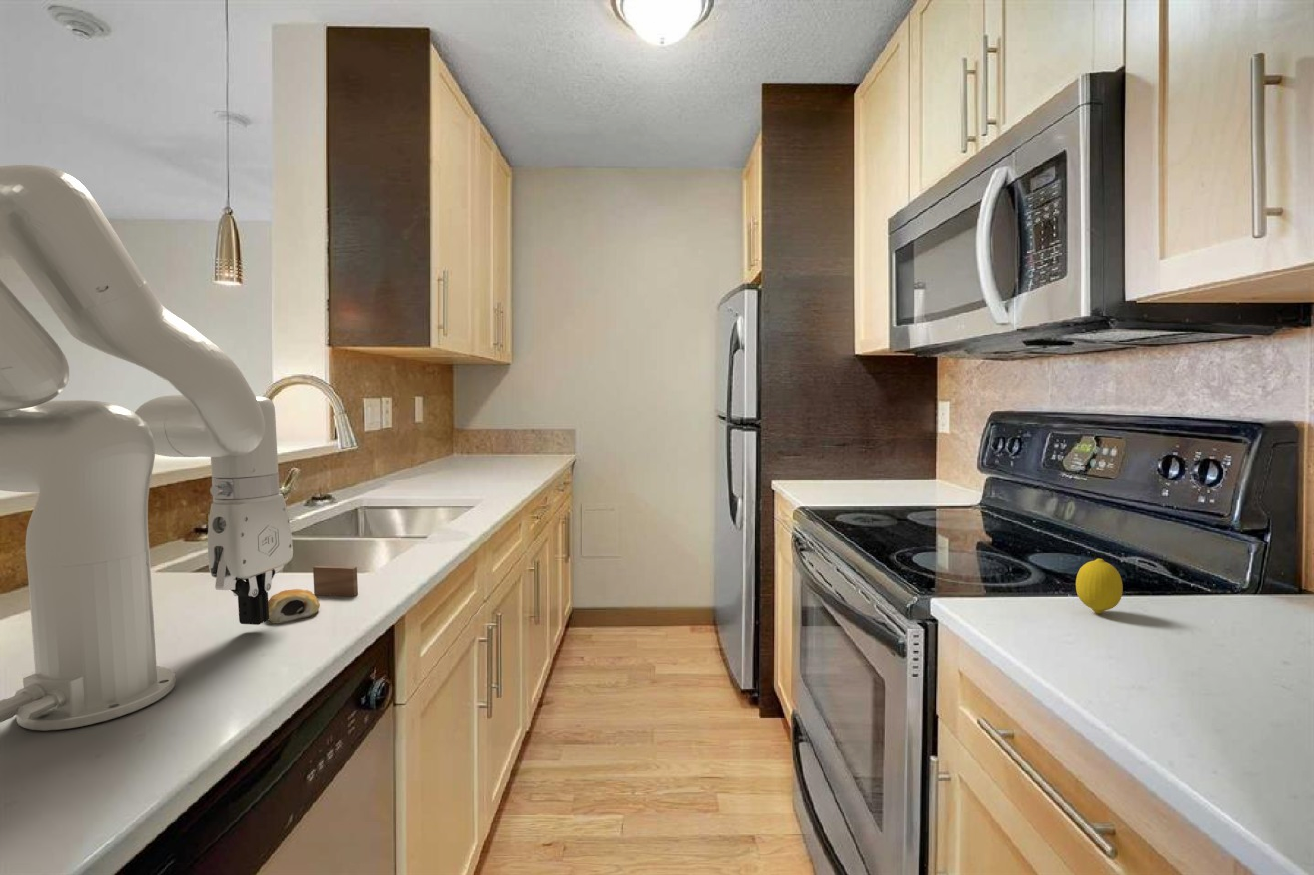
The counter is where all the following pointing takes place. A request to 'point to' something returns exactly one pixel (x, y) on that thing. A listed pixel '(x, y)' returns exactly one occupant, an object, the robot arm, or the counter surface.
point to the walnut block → (335, 580)
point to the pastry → (292, 605)
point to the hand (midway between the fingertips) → (254, 621)
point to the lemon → (1099, 585)
